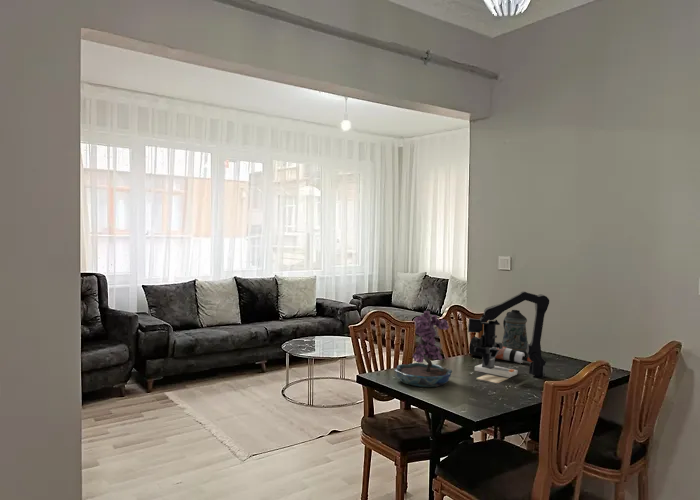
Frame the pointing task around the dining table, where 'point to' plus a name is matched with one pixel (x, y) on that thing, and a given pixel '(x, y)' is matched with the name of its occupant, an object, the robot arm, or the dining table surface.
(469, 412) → the dining table surface
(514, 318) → the beer stein
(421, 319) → the bonsai tree
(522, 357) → the striped cylinder
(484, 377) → the birch pad
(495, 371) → the switch housing
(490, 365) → the block
